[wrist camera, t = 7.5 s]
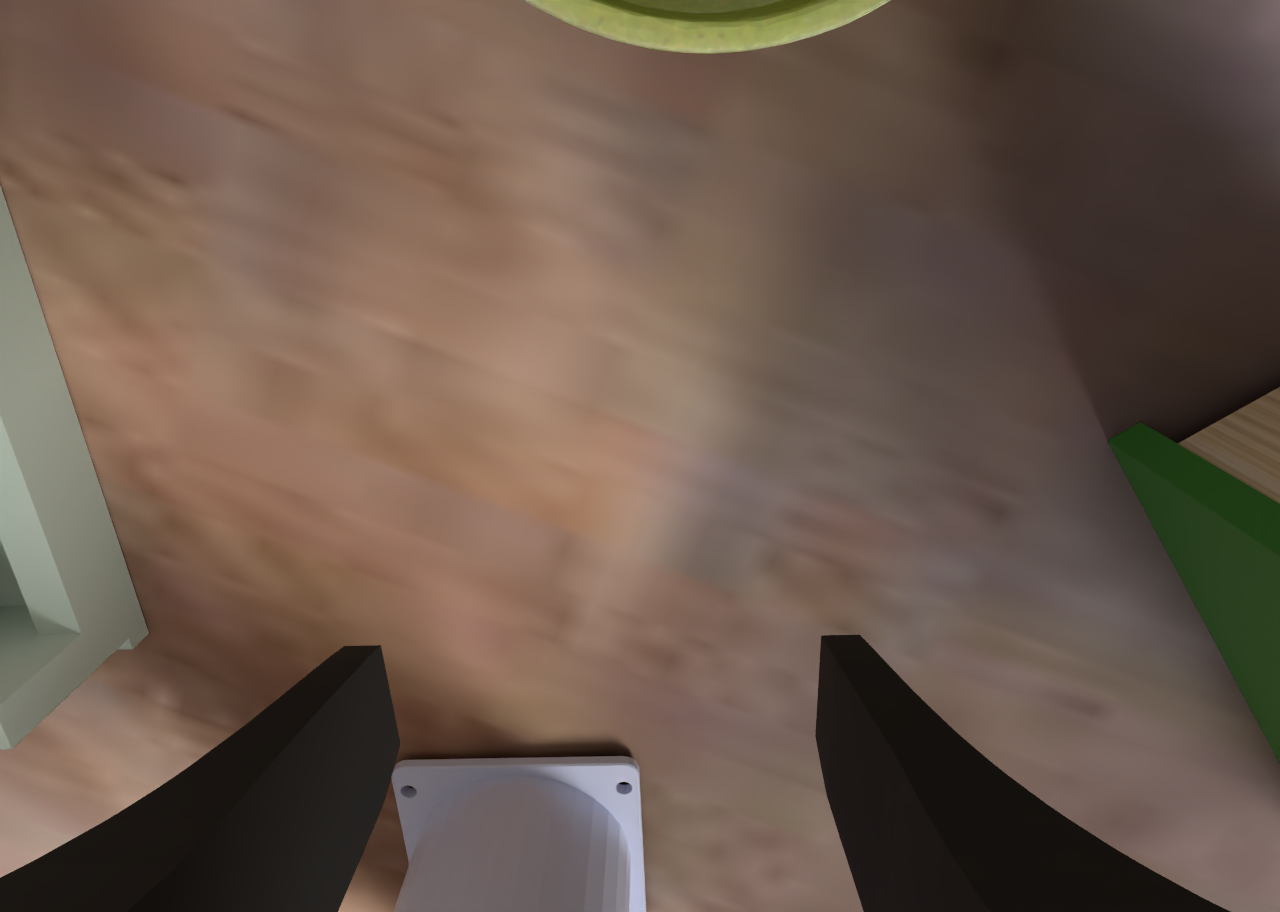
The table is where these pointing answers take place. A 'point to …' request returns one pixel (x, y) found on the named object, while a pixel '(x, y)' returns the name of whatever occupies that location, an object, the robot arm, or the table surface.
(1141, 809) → the table surface
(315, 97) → the table surface
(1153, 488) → the hardback book
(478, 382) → the table surface
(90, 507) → the holder
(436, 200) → the table surface
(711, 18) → the plant pot
